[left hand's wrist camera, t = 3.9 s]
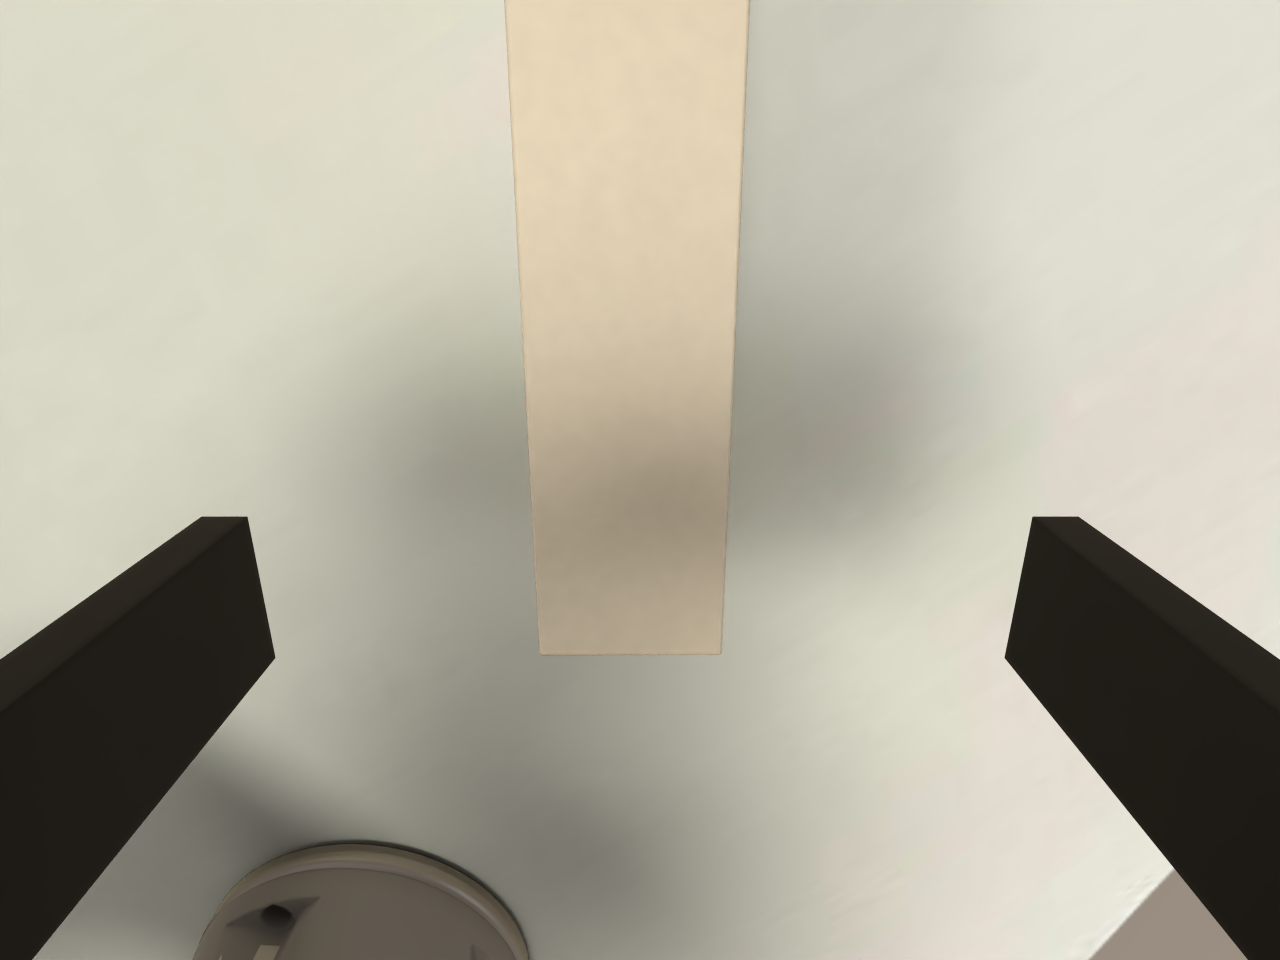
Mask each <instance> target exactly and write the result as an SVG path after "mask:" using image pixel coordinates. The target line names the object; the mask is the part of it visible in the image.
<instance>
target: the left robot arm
mask: <svg viewBox="0 0 1280 960" xmlns="http://www.w3.org/2000/svg"><path fill="white" fill-rule="evenodd" d="M274 659H275V653H274V648H273V643H272V638H271V633H270V628H269V623H268V618H267V613H266V608H265V603H264V598H263V593H262V588H261V583H260V578H259V573H258V568H257V563H256V558H255V553H254V548H253V543H252V537H251V532H250V527H249V522H248V517H200V518H199V519H198V520H196V521H195V522H193V523H192V524H191V525H189V526H188V527H186V528H185V529H184V530H182V531H181V532H179V533H178V534H177V535H175V536H174V537H172V538H171V539H169V540H168V541H167V542H165V543H164V544H162V545H161V546H160V547H158V548H157V549H155V550H154V551H153V552H151V553H150V554H148V555H147V556H146V557H144V558H143V559H141V560H140V561H138V562H137V563H136V564H134V565H133V566H131V567H130V568H129V569H127V570H126V571H124V572H123V573H122V574H120V575H119V576H117V577H116V578H115V579H113V580H112V581H110V582H109V583H107V584H106V585H105V586H103V587H102V588H100V589H99V590H98V591H96V592H95V593H93V594H92V595H91V596H89V597H88V598H86V599H85V600H84V601H82V602H81V603H79V604H78V605H76V606H75V607H74V608H72V609H71V610H69V611H68V612H67V613H65V614H64V615H62V616H61V617H60V618H58V619H57V620H55V621H54V622H53V623H51V624H50V625H48V626H47V627H46V628H44V629H43V630H41V631H40V632H38V633H37V634H36V635H34V636H33V637H31V638H30V639H29V640H27V641H26V642H24V643H23V644H22V645H20V646H19V647H17V648H16V649H15V650H13V651H12V652H10V653H9V654H7V655H6V656H5V657H3V658H2V659H0V960H32V959H33V958H34V957H35V955H36V954H37V953H38V952H39V950H40V949H41V948H42V947H43V945H44V944H45V943H46V942H47V941H48V939H49V938H50V937H51V936H52V934H53V933H54V932H55V931H56V929H57V928H58V927H59V926H60V924H61V923H62V922H63V921H64V919H65V918H66V917H67V916H68V914H69V913H70V912H71V911H72V909H73V908H74V907H75V906H76V905H77V903H78V902H79V901H80V900H81V898H82V897H83V896H84V895H85V893H86V892H87V891H88V890H89V888H90V887H91V886H92V885H93V883H94V882H95V881H96V880H97V878H98V877H99V876H100V875H101V874H102V872H103V871H104V870H105V869H106V867H107V866H108V865H109V864H110V862H111V861H112V860H113V859H114V857H115V856H116V855H117V854H118V852H119V851H120V850H121V849H122V847H123V846H124V845H125V844H126V842H127V841H128V840H129V839H130V838H131V836H132V835H133V834H134V833H135V831H136V830H137V829H138V828H139V826H140V825H141V824H142V823H143V821H144V820H145V819H146V818H147V816H148V815H149V814H150V813H151V811H152V810H153V809H154V808H155V807H156V805H157V804H158V803H159V802H160V800H161V799H162V798H163V797H164V795H165V794H166V793H167V792H168V790H169V789H170V788H171V787H172V785H173V784H174V783H175V782H176V780H177V779H178V778H179V777H180V776H181V774H182V773H183V772H184V771H185V769H186V768H187V767H188V766H189V764H190V763H191V762H192V761H193V759H194V758H195V757H196V756H197V754H198V753H199V752H200V751H201V749H202V748H203V747H204V746H205V744H206V743H207V742H208V741H209V740H210V738H211V737H212V736H213V735H214V733H215V732H216V731H217V730H218V728H219V727H220V726H221V725H222V723H223V722H224V721H225V720H226V718H227V717H228V716H229V715H230V713H231V712H232V711H233V710H234V709H235V707H236V706H237V705H238V704H239V702H240V701H241V700H242V699H243V697H244V696H245V695H246V694H247V692H248V691H249V690H250V689H251V687H252V686H253V685H254V684H255V682H256V681H257V680H258V679H259V677H260V676H261V675H262V674H263V673H264V671H265V670H266V669H267V668H268V666H269V665H270V664H271V663H272V661H273V660H274ZM1005 659H1006V660H1007V661H1008V663H1009V664H1010V665H1011V666H1012V668H1013V669H1014V670H1015V671H1016V673H1017V674H1018V675H1019V676H1020V677H1021V679H1022V680H1023V681H1024V682H1025V684H1026V685H1027V686H1028V687H1029V689H1030V690H1031V691H1032V692H1033V694H1034V695H1035V696H1036V697H1037V699H1038V700H1039V701H1040V702H1041V704H1042V705H1043V706H1044V707H1045V709H1046V710H1047V711H1048V712H1049V713H1050V715H1051V716H1052V717H1053V718H1054V720H1055V721H1056V722H1057V723H1058V725H1059V726H1060V727H1061V728H1062V730H1063V731H1064V732H1065V733H1066V735H1067V736H1068V737H1069V738H1070V740H1071V741H1072V742H1073V743H1074V744H1075V746H1076V747H1077V748H1078V749H1079V751H1080V752H1081V753H1082V754H1083V756H1084V757H1085V758H1086V759H1087V761H1088V762H1089V763H1090V764H1091V766H1092V767H1093V768H1094V769H1095V771H1096V772H1097V773H1098V774H1099V776H1100V777H1101V778H1102V779H1103V780H1104V782H1105V783H1106V784H1107V785H1108V787H1109V788H1110V789H1111V790H1112V792H1113V793H1114V794H1115V795H1116V797H1117V798H1118V799H1119V800H1120V802H1121V803H1122V804H1123V805H1124V807H1125V808H1126V809H1127V810H1128V811H1129V813H1130V814H1131V815H1132V816H1133V818H1134V819H1135V820H1136V821H1137V823H1138V824H1139V825H1140V826H1141V828H1142V829H1143V830H1144V831H1145V833H1146V834H1147V835H1148V836H1149V838H1150V839H1151V840H1152V841H1153V842H1154V844H1155V845H1156V846H1157V847H1158V849H1159V850H1160V851H1161V852H1162V854H1163V855H1164V856H1165V857H1166V859H1167V860H1168V861H1169V862H1170V864H1171V865H1172V866H1173V867H1174V869H1175V870H1176V871H1177V872H1178V873H1179V875H1180V876H1181V877H1182V878H1183V880H1184V881H1185V882H1186V883H1187V885H1188V886H1189V887H1190V888H1191V890H1192V891H1193V892H1194V893H1195V895H1196V896H1197V897H1198V898H1199V900H1200V901H1201V902H1202V903H1203V904H1204V906H1205V907H1206V908H1207V909H1208V911H1209V912H1210V913H1211V914H1212V916H1213V917H1214V918H1215V919H1216V921H1217V922H1218V923H1219V924H1220V926H1221V927H1222V928H1223V929H1224V931H1225V932H1226V933H1227V934H1228V936H1229V937H1230V938H1231V939H1232V940H1233V942H1234V943H1235V944H1236V945H1237V947H1238V948H1239V949H1240V950H1241V952H1242V953H1243V954H1244V955H1245V957H1246V958H1247V959H1248V960H1280V659H1278V658H1277V657H1275V656H1274V655H1273V654H1271V653H1270V652H1268V651H1267V650H1265V649H1264V648H1263V647H1261V646H1260V645H1258V644H1257V643H1256V642H1254V641H1253V640H1251V639H1250V638H1249V637H1247V636H1246V635H1244V634H1243V633H1242V632H1240V631H1239V630H1237V629H1236V628H1234V627H1233V626H1232V625H1230V624H1229V623H1227V622H1226V621H1225V620H1223V619H1222V618H1220V617H1219V616H1218V615H1216V614H1215V613H1213V612H1212V611H1211V610H1209V609H1208V608H1206V607H1205V606H1204V605H1202V604H1201V603H1199V602H1198V601H1196V600H1195V599H1194V598H1192V597H1191V596H1189V595H1188V594H1187V593H1185V592H1184V591H1182V590H1181V589H1180V588H1178V587H1177V586H1175V585H1174V584H1173V583H1171V582H1170V581H1168V580H1167V579H1165V578H1164V577H1163V576H1161V575H1160V574H1158V573H1157V572H1156V571H1154V570H1153V569H1151V568H1150V567H1149V566H1147V565H1146V564H1144V563H1143V562H1142V561H1140V560H1139V559H1137V558H1136V557H1134V556H1133V555H1132V554H1130V553H1129V552H1127V551H1126V550H1125V549H1123V548H1122V547H1120V546H1119V545H1118V544H1116V543H1115V542H1113V541H1112V540H1111V539H1109V538H1108V537H1106V536H1105V535H1103V534H1102V533H1101V532H1099V531H1098V530H1096V529H1095V528H1094V527H1092V526H1091V525H1089V524H1088V523H1087V522H1085V521H1084V520H1082V519H1081V518H1080V517H1032V522H1031V527H1030V532H1029V537H1028V543H1027V548H1026V553H1025V558H1024V563H1023V568H1022V573H1021V578H1020V583H1019V588H1018V593H1017V598H1016V603H1015V608H1014V613H1013V618H1012V623H1011V628H1010V633H1009V638H1008V643H1007V648H1006V653H1005ZM193 960H529V958H528V954H527V949H526V945H525V943H524V940H523V938H522V935H521V933H520V931H519V929H518V927H517V925H516V924H515V922H514V921H513V919H512V918H511V916H510V915H509V913H508V912H507V911H506V910H505V908H504V907H503V906H502V905H501V904H500V903H499V902H498V901H497V900H496V899H495V898H494V897H493V896H492V895H491V894H490V893H489V892H488V891H487V890H485V889H484V888H483V887H482V886H480V885H479V884H478V883H476V882H475V881H473V880H472V879H470V878H469V877H467V876H466V875H464V874H462V873H461V872H459V871H457V870H455V869H453V868H452V867H449V866H447V865H445V864H443V863H441V862H438V861H436V860H433V859H431V858H428V857H425V856H422V855H419V854H416V853H412V852H409V851H405V850H400V849H395V848H390V847H384V846H376V845H363V844H337V845H327V846H319V847H314V848H308V849H304V850H300V851H296V852H293V853H289V854H287V855H284V856H281V857H278V858H276V859H274V860H272V861H270V862H268V863H266V864H263V865H262V866H260V867H259V868H257V869H255V870H254V871H252V872H251V873H249V874H248V875H247V876H245V877H244V878H243V879H242V880H240V881H239V882H238V883H237V884H236V885H235V886H234V887H233V888H232V889H231V891H230V892H229V893H228V894H227V896H226V897H225V898H224V900H223V901H222V903H221V905H220V906H219V908H218V910H217V911H216V913H215V915H214V916H213V918H212V920H211V921H210V923H209V925H208V926H207V928H206V930H205V932H204V933H203V936H202V938H201V941H200V943H199V945H198V947H197V950H196V952H195V955H194V957H193Z"/></svg>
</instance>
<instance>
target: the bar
mask: <svg viewBox="0 0 1280 960" xmlns="http://www.w3.org/2000/svg"><path fill="white" fill-rule="evenodd" d="M504 1H505V19H506V38H507V57H508V75H509V94H510V113H511V131H512V150H513V169H514V187H515V206H516V225H517V243H518V262H519V281H520V299H521V318H522V337H523V355H524V374H525V393H526V411H527V430H528V449H529V467H530V486H531V505H532V523H533V542H534V561H535V579H536V598H537V617H538V635H539V652H540V654H541V655H719V654H721V652H722V632H723V609H724V586H725V563H726V540H727V517H728V494H729V471H730V448H731V425H732V402H733V379H734V356H735V333H736V311H737V288H738V265H739V242H740V219H741V196H742V173H743V150H744V127H745V104H746V81H747V58H748V35H749V12H750V0H504Z"/></svg>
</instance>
